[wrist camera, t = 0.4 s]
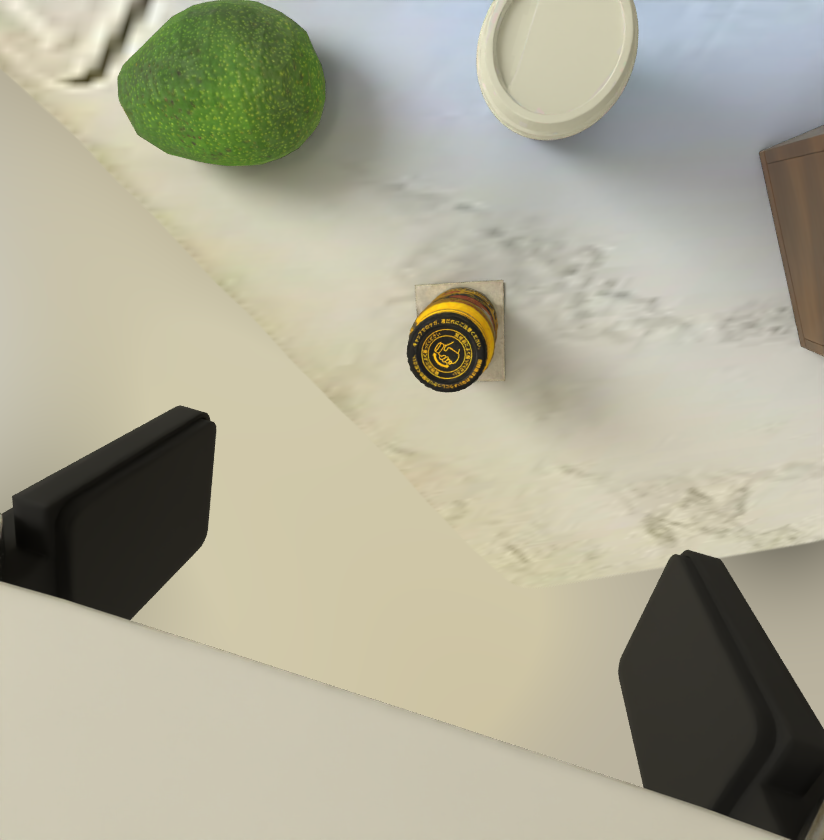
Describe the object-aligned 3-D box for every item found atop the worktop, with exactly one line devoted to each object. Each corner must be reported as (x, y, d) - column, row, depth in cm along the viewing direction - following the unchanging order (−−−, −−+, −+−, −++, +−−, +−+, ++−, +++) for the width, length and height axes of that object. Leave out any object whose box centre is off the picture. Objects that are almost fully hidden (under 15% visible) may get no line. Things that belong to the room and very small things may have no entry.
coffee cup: (558, -9, 36) (576, -110, 25) (632, 95, 38) (681, 43, 27) (462, 91, 39) (441, 41, 28) (534, 184, 41) (540, 171, 30)
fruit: (176, 178, 45) (89, 168, 36) (151, 40, 42) (49, -10, 33) (346, 167, 43) (300, 152, 33) (335, 18, 39) (279, -44, 30)
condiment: (503, 279, 43) (499, 299, 32) (504, 380, 46) (501, 429, 35) (415, 284, 45) (382, 305, 34) (422, 382, 48) (393, 430, 37)
